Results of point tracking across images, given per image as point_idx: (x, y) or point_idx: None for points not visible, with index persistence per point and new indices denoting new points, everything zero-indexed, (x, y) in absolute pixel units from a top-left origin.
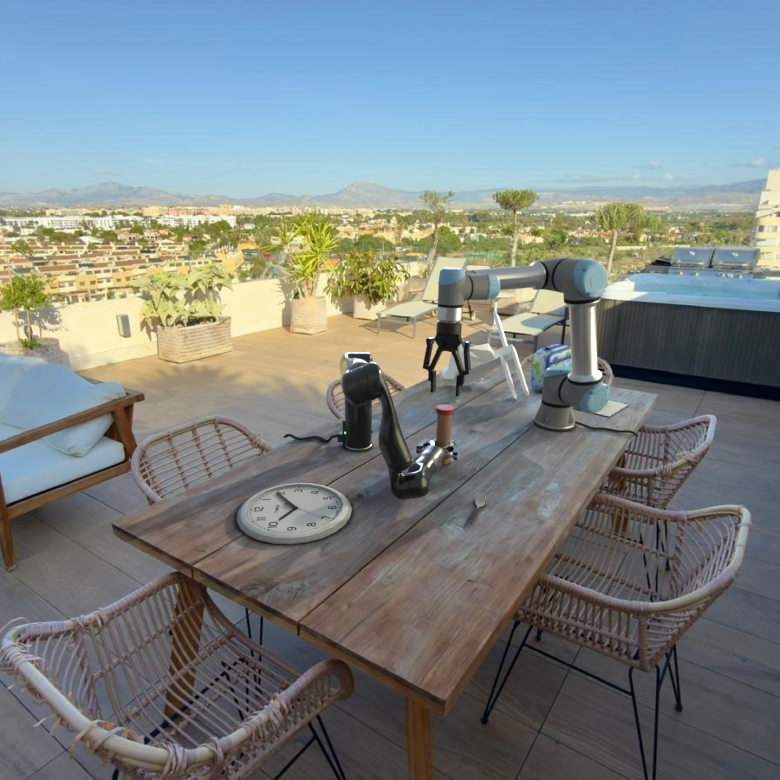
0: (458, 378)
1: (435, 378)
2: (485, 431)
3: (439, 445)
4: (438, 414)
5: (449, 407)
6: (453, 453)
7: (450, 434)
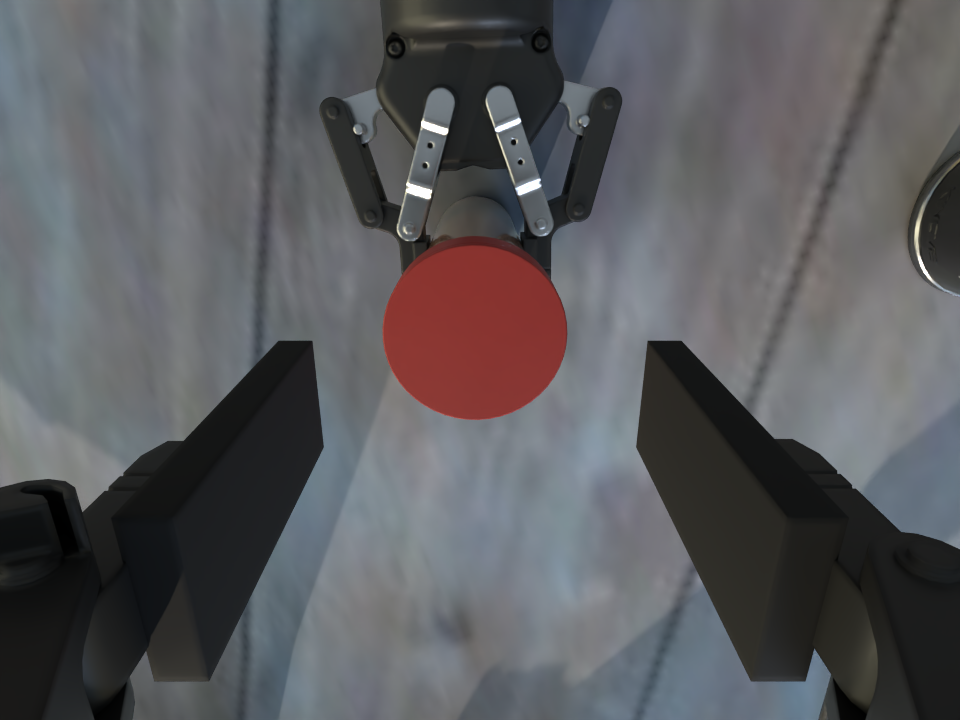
0: (152, 483)
1: (696, 537)
2: (401, 649)
3: (485, 210)
4: None
5: (433, 352)
6: (356, 121)
7: None
